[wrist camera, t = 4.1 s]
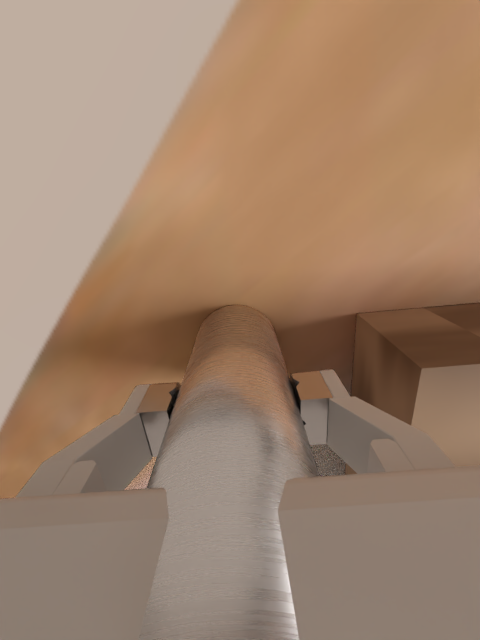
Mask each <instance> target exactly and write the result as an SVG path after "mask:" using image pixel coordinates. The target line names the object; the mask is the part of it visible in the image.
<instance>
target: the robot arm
mask: <svg viewBox="0 0 480 640" xmlns="http://www.w3.org/2000/svg"><path fill="white" fill-rule="evenodd" d="M290 382H291V385H292V388H293V392H294V395H295V398H296V401H297V405H298V408H299V411H300V414H301V417H302V421H303V424H304V427H305V430H306V434H307V437H308V440H309V443H310V445H319V444H327V446H328V447H329V448H331V449H332V450H333V451H334V452H335V453H336V454H337V455H338V456H339V457H340V458H341V459H342V460H343V461H344V462H346V463H347V464H348V465H349V466H350V467H351V468H352V469H353V470H354V471H355V472H356V473H357V474H347V475H333V476H318V477H303V478H292V479H289V480H287V481H286V483H285V484H284V489H283V493H282V497H281V500H280V504H279V507H278V517H279V523H280V529H281V535H282V541H283V547H284V553H285V559H286V565H287V571H288V576H289V582H290V588H291V594H292V600H293V606H294V612H295V618H296V624H297V630H298V636H299V640H480V465H475V466H460V467H455V465H454V464H453V463H452V462H451V461H450V460H449V458H448V457H447V456H446V455H445V454H444V453H443V451H442V450H441V449H440V448H439V447H438V446H437V444H436V443H435V442H434V441H433V440H432V439H431V437H430V436H429V435H428V434H426V433H424V432H422V431H420V430H418V429H416V428H414V427H412V426H411V425H409V424H407V423H405V422H403V421H401V420H399V419H397V418H395V417H393V416H391V415H390V414H388V413H386V412H384V411H382V410H380V409H378V408H376V407H374V406H372V405H370V404H368V403H367V402H365V401H363V400H361V399H359V398H357V397H355V396H354V397H350V395H349V393H348V392H347V390H346V389H345V387H344V385H343V384H342V382H341V381H340V379H339V377H338V376H337V374H336V372H335V371H334V370H333V369H328V370H320V371H312V372H302V373H292V374H290ZM180 386H181V385H180V384H179V382H175V383H158V384H143V385H138V386H136V387H135V388H134V390H133V392H132V393H131V395H130V397H129V398H128V400H127V402H126V403H125V405H124V407H123V408H122V410H121V412H120V414H119V415H114V416H112V417H111V418H109V419H108V420H106V421H105V422H103V423H102V424H100V425H99V426H97V427H96V428H94V429H93V430H91V431H90V432H88V433H87V434H85V435H84V436H82V437H81V438H79V439H78V440H76V441H75V442H73V443H72V444H70V445H68V446H67V447H65V448H64V449H62V450H61V451H59V452H58V453H56V454H55V455H53V456H52V457H50V458H49V459H47V460H46V461H44V462H43V463H42V464H41V465H40V467H39V468H38V469H37V470H36V472H35V473H34V474H33V476H32V477H31V478H30V479H29V481H28V482H27V483H26V484H25V486H24V487H23V488H22V490H21V491H20V492H19V493H18V495H17V496H16V497H15V498H3V499H0V640H138V639H139V635H140V631H141V627H142V623H143V619H144V615H145V611H146V607H147V603H148V599H149V595H150V592H151V588H152V584H153V580H154V576H155V572H156V568H157V564H158V560H159V556H160V552H161V548H162V544H163V540H164V536H165V532H166V528H167V524H168V521H169V513H168V505H167V497H166V490H165V489H164V488H147V489H133V490H124V489H125V488H126V487H127V486H128V485H129V484H130V482H131V481H132V480H133V479H134V478H135V477H136V476H137V475H138V474H139V472H140V471H141V470H142V469H143V468H144V467H145V466H146V465H147V464H148V462H149V461H150V460H151V459H152V457H156V456H158V453H159V450H160V447H161V444H162V441H163V438H164V435H165V432H166V428H167V425H168V422H169V419H170V416H171V413H172V410H173V407H174V404H175V401H176V398H177V395H178V392H179V389H180Z"/></svg>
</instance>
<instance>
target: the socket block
mask: <svg viewBox="0 0 480 640" xmlns="http://www.w3.org/2000/svg"><path fill="white" fill-rule="evenodd" d="M354 396H355V397H357V398H359V399H361V400H363V401H365V402H367V403H368V404H370V405H372V406H374V407H376V408H378V409H380V410H382V411H384V412H386V413H388V414H390V415H391V416H393V417H395V418H397V419H399V420H401V421H403V422H405V423H407V424H409V425H411V426H412V427H414V428H416V429H418V430H420V431H422V432H424V433H426V434H428V435H429V436H430V437H431V439H432V440H433V441H434V442H435V443H436V444H437V446H438V447H439V448H440V449H441V450H442V451H443V453H444V454H445V455H446V456H447V457H448V458H449V460H450V461H451V462H452V463H453V464H454V465H455V467H460V466H475V465H480V303H473V304H461V305H450V306H438V307H427V308H415V309H404V310H392V311H381V312H369V313H357V319H356V332H355V345H354V359H353V372H352V385H351V397H354ZM347 474H357V473H356V472H355V471H354V470H353V469H352V468H351V467H350V466H349V465H348V464H347V463H346V465H345V475H347Z"/></svg>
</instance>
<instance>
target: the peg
mask: <svg viewBox="0 0 480 640" xmlns="http://www.w3.org/2000/svg"><path fill="white" fill-rule="evenodd" d="M318 476H319V472H318V469H317V466H316V463H315V459H314V456H313V453H312V450H311V447H310V443H309V440H308V437H307V434H306V430H305V427H304V424H303V421H302V417H301V414H300V411H299V408H298V405H297V401H296V398H295V395H294V392H293V388H292V385H291V382H290V379H289V376H288V372H287V369H286V366H285V363H284V359H283V356H282V353H281V350H280V347H279V343H278V340H277V337H276V334H275V330H274V328H273V326H272V324H271V322H270V321H269V319H268V318H267V317H266V316H265V315H264V314H263V313H261V312H260V311H258V310H256V309H254V308H252V307H249V306H244V305H229V306H225V307H222V308H219V309H217V310H216V311H214V312H212V313H211V314H210V315H209V316H208V317H207V318H206V319H205V320H204V321H203V323H202V325H201V327H200V329H199V332H198V335H197V338H196V341H195V344H194V347H193V350H192V353H191V356H190V359H189V362H188V365H187V368H186V371H185V374H184V377H183V380H182V383H181V386H180V389H179V392H178V395H177V398H176V401H175V404H174V407H173V410H172V413H171V416H170V419H169V422H168V425H167V428H166V432H165V435H164V438H163V441H162V444H161V447H160V450H159V453H158V456H157V459H156V462H155V465H154V468H153V471H152V474H151V477H150V480H149V483H148V486H147V488H164V489H165V490H166V497H167V505H168V513H169V521H168V524H167V528H166V532H165V536H164V540H163V544H162V548H161V552H160V556H159V560H158V564H157V568H156V572H155V576H154V580H153V584H152V588H151V592H150V595H149V599H148V603H147V607H146V611H145V615H144V619H143V623H142V627H141V631H140V635H139V639H138V640H299V636H298V630H297V624H296V618H295V612H294V606H293V600H292V594H291V588H290V582H289V576H288V571H287V565H286V559H285V553H284V547H283V541H282V535H281V529H280V523H279V517H278V507H279V504H280V500H281V497H282V493H283V489H284V484H285V483H286V481H287V480H289V479H292V478H303V477H318Z"/></svg>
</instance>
